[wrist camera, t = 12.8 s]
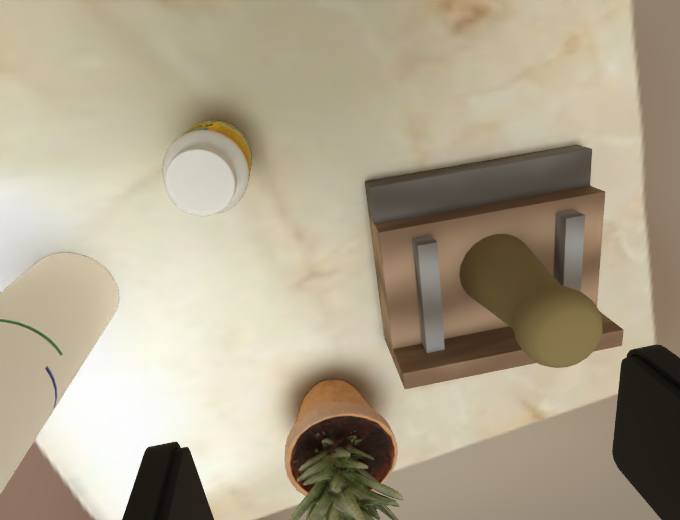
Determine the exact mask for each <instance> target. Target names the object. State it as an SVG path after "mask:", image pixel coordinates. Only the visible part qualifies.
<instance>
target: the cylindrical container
mask: <svg viewBox="0 0 680 520" xmlns="http://www.w3.org/2000/svg"><path fill="white" fill-rule="evenodd" d="M118 303H119V292H118V287H117V285H116V282H115V280H114V279H113V277H112V276H111V274H110V273H109V272H108V271H107V270H106V269H105V268H104V267H103V266H102V265H101V264H99V263H98V262H96V261H95V260H93V259H90V258H88V257H86V256H83V255H79V254H74V253H57V254H53V255H49V256H47V257H45V258H42V259H41V260H40V261H38V262H37V263H35V264H34V265H33V266H32V267H31V268H29V269H28V270H27V271H26V272H25V273H24V274H22V275H21V276H20V277H19V278H18V279H16V280H15V281H14V282H13V283H12V284H11V285H9V286H8V287H7V288H6V289H5V290H3V291H2V292H1V293H0V494H1V492H2V491H3V489H4V487H5V486H6V484H7V483H8V481H9V480H10V478H11V477H12V475H13V473H14V472H15V470H16V468H17V467H18V465H19V464H20V462H21V461H22V459H23V458H24V456H25V454H26V453H27V451H28V450H29V448H30V446H31V445H32V443H33V442H34V440H35V439H36V437H37V435H38V434H39V432H40V431H41V429H42V428H43V426H44V424H45V423H46V421H47V420H48V418H49V416H50V415H51V413H52V412H53V410H54V409H55V407H56V405H57V404H58V402H59V401H60V399H61V398H62V396H63V394H64V393H65V391H66V390H67V388H68V386H69V385H70V383H71V382H72V380H73V379H74V377H75V375H76V374H77V372H78V371H79V369H80V367H81V366H82V364H83V363H84V361H85V360H86V358H87V356H88V355H89V353H90V352H91V350H92V348H93V347H94V345H95V344H96V342H97V341H98V339H99V337H100V336H101V334H102V333H103V331H104V330H105V328H106V326H107V325H108V323H109V322H110V320H111V318H112V317H113V315H114V313H115V312H116V310H117V307H118Z"/></svg>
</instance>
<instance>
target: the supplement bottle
mask: <svg viewBox="0 0 680 520" xmlns="http://www.w3.org/2000/svg"><path fill="white" fill-rule="evenodd" d="M251 162H252V154H251V149H250V146H249V143H248V141H247V139H246V138H245V136H244V135H243V134H242V133H241V132H240V131H239V130H238V129H237V128H236V127H234V126H233V125H231V124H228V123H226V122H222V121H215V120H210V121H204V122H201V123H198V124H196V125H195V126H193V127H192V128H190V129H189V130H188V131H187V132H185V133H184V134H183V135H181V136H180V137H179V138H177V139H176V140H175V141H174V142H173V143H172V145H171V146H170V147H169V149H168V150H167V152H166V154H165V157H164V160H163V168H162V172H163V179H164V183H165V186H166V190H167V193H168V195H169V197H170V198H171V200H172V201H173V203H174V204H175V205H176V206H177V207H179V208H180V209H181V210H183V211H185V212H187V213H189V214H192V215H196V216H209V215H213V214H217V213H221V212H224V211H226V210H228V209H230V208H231V207H233V206H234V205H235V204H237V203H238V201H239V200H240V199H241V198H242V196H243V195H244V193H245V191H246V188H247V185H248V181H249V175H250V169H251Z"/></svg>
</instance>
